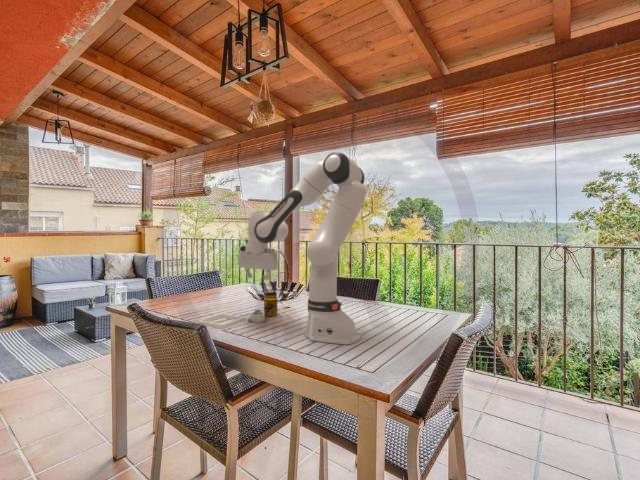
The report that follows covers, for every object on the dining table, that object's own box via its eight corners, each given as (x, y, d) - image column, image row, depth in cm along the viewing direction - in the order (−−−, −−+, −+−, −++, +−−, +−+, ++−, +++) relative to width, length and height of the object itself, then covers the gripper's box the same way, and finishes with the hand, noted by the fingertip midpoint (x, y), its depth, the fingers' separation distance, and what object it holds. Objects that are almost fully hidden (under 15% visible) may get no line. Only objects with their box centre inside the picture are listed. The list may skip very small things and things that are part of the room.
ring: (267, 319, 157) (267, 312, 157) (258, 322, 152) (258, 315, 152) (256, 317, 160) (256, 311, 160) (248, 320, 155) (248, 314, 155)
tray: (244, 322, 154) (244, 317, 154) (222, 330, 142) (222, 325, 142) (221, 318, 161) (221, 313, 161) (198, 326, 148) (197, 320, 148)
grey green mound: (271, 320, 158) (271, 309, 158) (259, 325, 150) (259, 313, 150) (255, 318, 162) (255, 307, 162) (243, 322, 154) (243, 311, 154)
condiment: (264, 319, 160) (264, 293, 159) (261, 315, 168) (261, 290, 167) (279, 318, 162) (280, 293, 161) (276, 314, 170) (276, 289, 170)
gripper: (281, 248, 153) (280, 279, 153) (245, 246, 162) (244, 275, 163) (272, 249, 147) (272, 281, 148) (235, 247, 157) (235, 277, 157)
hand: (257, 278), depth 155 cm, fingers open, 8 cm apart
